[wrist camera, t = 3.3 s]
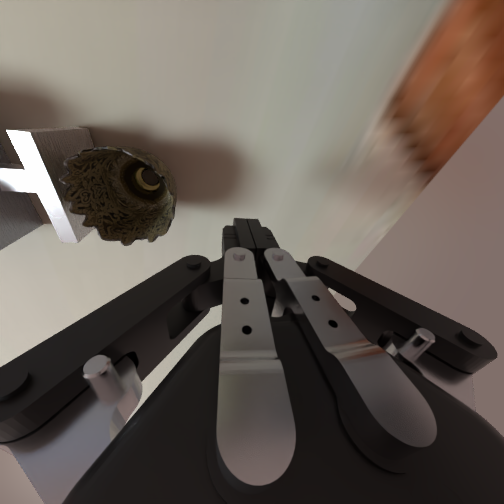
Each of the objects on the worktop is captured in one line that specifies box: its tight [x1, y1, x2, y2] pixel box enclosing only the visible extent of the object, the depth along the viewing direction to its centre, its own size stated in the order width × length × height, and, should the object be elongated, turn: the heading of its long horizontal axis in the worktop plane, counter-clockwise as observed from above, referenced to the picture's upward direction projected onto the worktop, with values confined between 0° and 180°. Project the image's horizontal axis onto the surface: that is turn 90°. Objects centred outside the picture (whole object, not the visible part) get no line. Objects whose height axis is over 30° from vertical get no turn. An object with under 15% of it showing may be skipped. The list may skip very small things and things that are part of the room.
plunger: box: [0, 127, 95, 243], centre depth 15 cm, size 10×8×9 cm
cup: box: [59, 146, 177, 246], centre depth 18 cm, size 8×7×8 cm
